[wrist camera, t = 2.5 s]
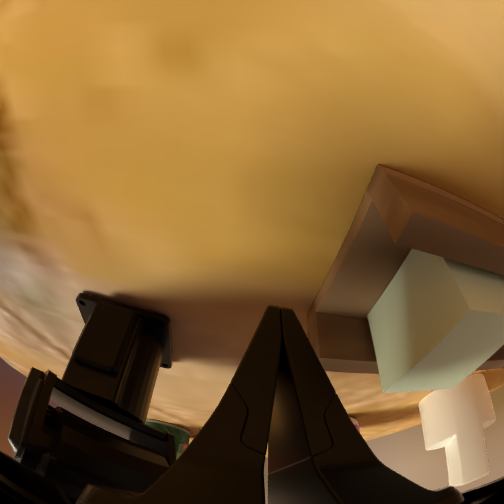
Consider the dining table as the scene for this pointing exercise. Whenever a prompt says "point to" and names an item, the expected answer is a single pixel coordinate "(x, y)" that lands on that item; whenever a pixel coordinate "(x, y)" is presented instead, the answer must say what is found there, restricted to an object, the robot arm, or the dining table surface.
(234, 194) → the dining table surface
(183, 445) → the canned tomato
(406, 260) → the block
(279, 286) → the dining table surface
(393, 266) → the chute
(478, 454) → the cylinder with rectangular tab
